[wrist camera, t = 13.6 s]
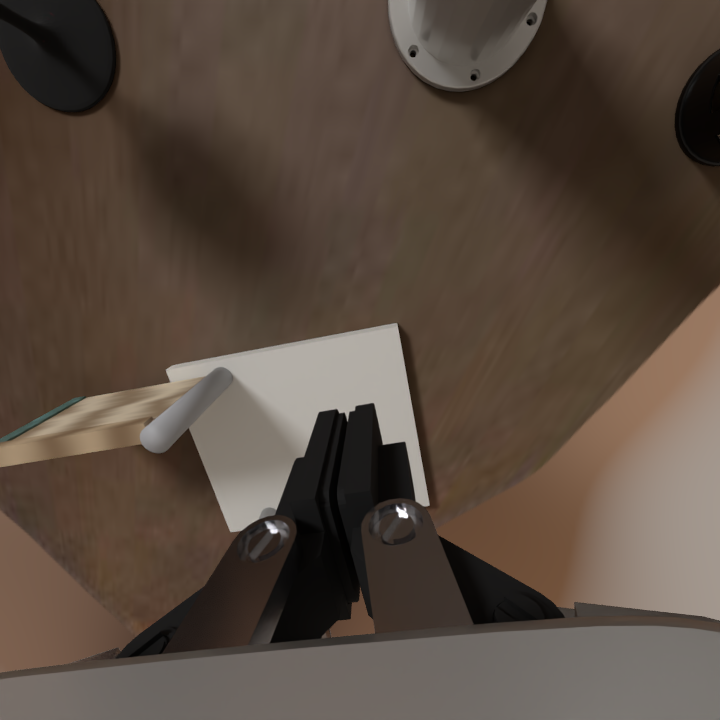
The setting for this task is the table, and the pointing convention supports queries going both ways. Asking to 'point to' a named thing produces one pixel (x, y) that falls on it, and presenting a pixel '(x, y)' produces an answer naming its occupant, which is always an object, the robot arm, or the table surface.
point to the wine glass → (59, 50)
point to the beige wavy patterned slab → (91, 424)
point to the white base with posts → (284, 412)
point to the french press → (700, 114)
